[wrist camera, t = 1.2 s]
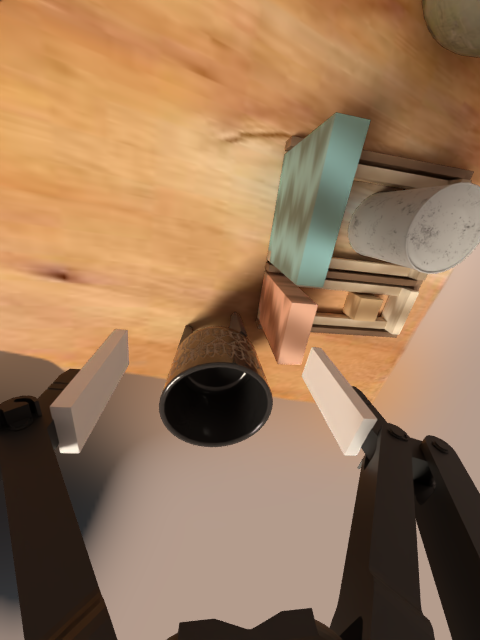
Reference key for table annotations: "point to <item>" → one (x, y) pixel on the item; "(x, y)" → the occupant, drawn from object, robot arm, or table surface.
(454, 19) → the vase
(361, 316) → the oak cube
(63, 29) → the table surface
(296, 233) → the can sled
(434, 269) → the speckled stone cylinder
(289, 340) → the cube sled
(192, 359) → the planter
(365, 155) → the guide frame
